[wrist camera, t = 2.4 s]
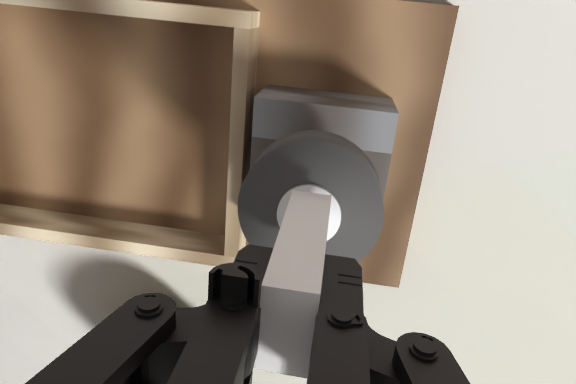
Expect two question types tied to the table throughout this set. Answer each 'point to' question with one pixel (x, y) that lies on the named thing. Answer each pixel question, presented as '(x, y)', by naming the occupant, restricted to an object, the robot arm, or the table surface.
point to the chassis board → (205, 113)
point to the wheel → (314, 191)
